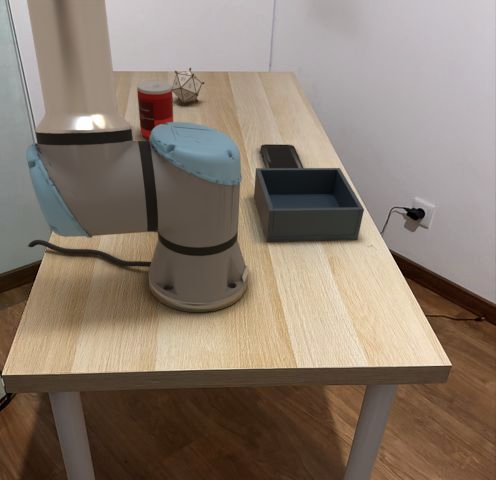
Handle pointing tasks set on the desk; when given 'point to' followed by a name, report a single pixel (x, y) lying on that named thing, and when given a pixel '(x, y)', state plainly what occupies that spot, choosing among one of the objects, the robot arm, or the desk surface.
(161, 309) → the desk surface
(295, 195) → the bin
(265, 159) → the phone
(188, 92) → the game die
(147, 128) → the canned food
